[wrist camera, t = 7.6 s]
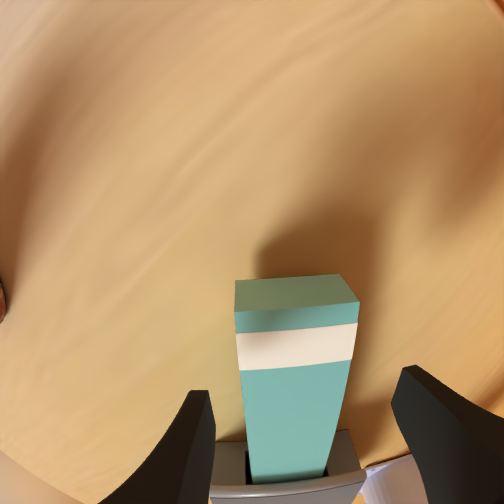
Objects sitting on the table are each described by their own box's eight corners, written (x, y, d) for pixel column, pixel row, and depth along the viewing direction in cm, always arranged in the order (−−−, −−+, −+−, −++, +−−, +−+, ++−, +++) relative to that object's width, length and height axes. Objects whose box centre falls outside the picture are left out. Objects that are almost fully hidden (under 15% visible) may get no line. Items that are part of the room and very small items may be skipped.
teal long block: (339, 273, 14) (360, 302, 11) (315, 450, 19) (321, 479, 16) (235, 280, 14) (234, 312, 11) (251, 456, 19) (252, 486, 16)
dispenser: (349, 423, 20) (367, 476, 15) (332, 474, 23) (342, 516, 18) (211, 436, 20) (208, 494, 14) (225, 484, 23) (225, 528, 18)
